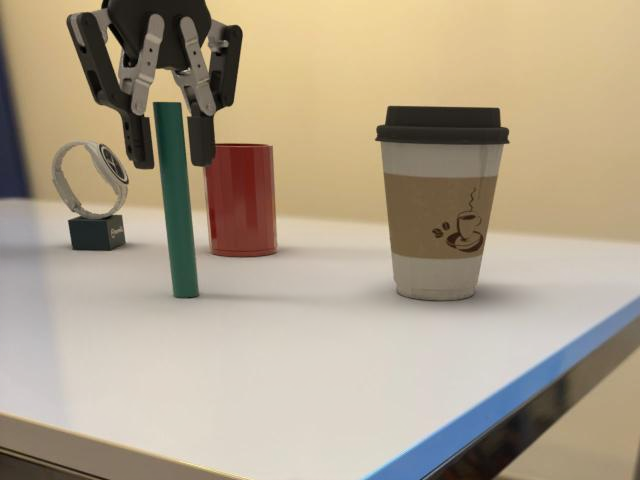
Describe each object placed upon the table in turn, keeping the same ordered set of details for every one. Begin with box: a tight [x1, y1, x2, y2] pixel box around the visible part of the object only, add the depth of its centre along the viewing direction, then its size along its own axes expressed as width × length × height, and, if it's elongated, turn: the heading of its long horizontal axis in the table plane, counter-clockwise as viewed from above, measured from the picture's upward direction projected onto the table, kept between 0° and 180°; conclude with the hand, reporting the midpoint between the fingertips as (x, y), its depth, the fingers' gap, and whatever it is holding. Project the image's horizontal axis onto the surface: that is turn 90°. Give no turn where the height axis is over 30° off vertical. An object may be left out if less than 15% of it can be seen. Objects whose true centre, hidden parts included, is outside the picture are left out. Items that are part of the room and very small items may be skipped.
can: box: [202, 142, 278, 258], centre depth 86 cm, size 8×8×11 cm
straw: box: [152, 101, 200, 299], centre depth 65 cm, size 2×2×15 cm
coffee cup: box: [374, 105, 511, 301], centre depth 68 cm, size 11×11×15 cm
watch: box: [51, 140, 130, 251], centre depth 88 cm, size 6×8×11 cm
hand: (173, 166), depth 63 cm, fingers open, 4 cm apart
